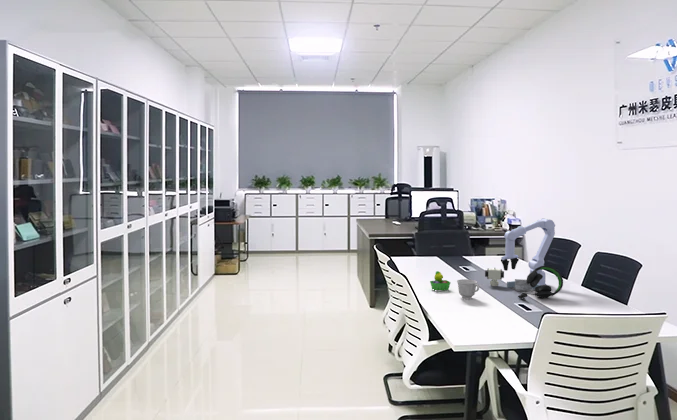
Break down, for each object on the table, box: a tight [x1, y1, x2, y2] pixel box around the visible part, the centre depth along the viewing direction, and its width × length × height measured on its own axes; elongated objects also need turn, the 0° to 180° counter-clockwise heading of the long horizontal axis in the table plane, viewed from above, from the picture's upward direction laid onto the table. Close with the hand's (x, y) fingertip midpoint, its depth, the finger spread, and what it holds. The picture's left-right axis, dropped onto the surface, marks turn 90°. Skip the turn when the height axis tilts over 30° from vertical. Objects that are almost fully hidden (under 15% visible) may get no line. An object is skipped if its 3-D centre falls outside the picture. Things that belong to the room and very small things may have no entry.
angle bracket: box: [514, 278, 534, 292], centre depth 305 cm, size 10×6×6 cm, turn 76°
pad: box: [510, 287, 536, 293], centre depth 307 cm, size 11×12×1 cm
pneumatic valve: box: [484, 267, 505, 287], centre depth 318 cm, size 6×12×12 cm, turn 72°
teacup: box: [456, 278, 480, 300], centre depth 285 cm, size 12×15×10 cm
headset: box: [517, 265, 564, 301], centre depth 285 cm, size 18×14×29 cm
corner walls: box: [506, 280, 542, 290], centre depth 309 cm, size 14×15×4 cm
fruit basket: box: [429, 270, 451, 291], centre depth 308 cm, size 11×9×11 cm
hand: (509, 269), depth 320 cm, fingers open, 7 cm apart
